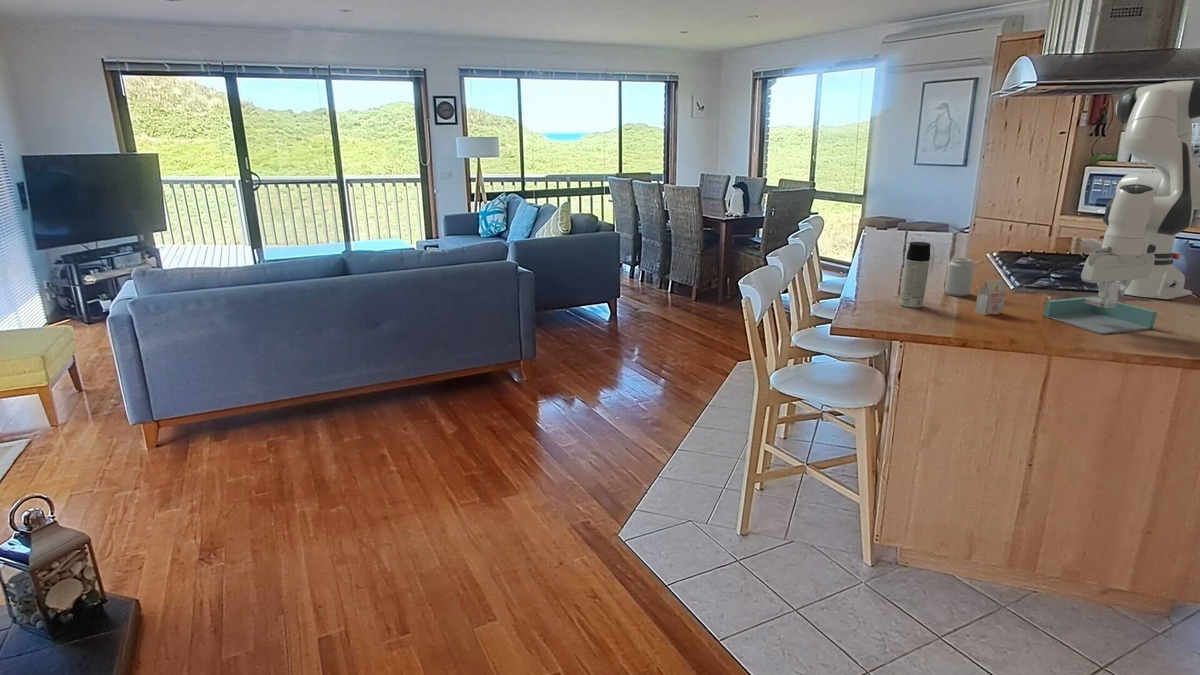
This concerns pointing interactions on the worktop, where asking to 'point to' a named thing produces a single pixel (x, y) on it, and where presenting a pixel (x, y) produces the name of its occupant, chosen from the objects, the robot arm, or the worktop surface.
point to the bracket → (1107, 301)
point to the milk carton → (990, 298)
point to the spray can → (915, 275)
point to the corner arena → (1100, 316)
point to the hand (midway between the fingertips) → (1110, 296)
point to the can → (959, 277)
